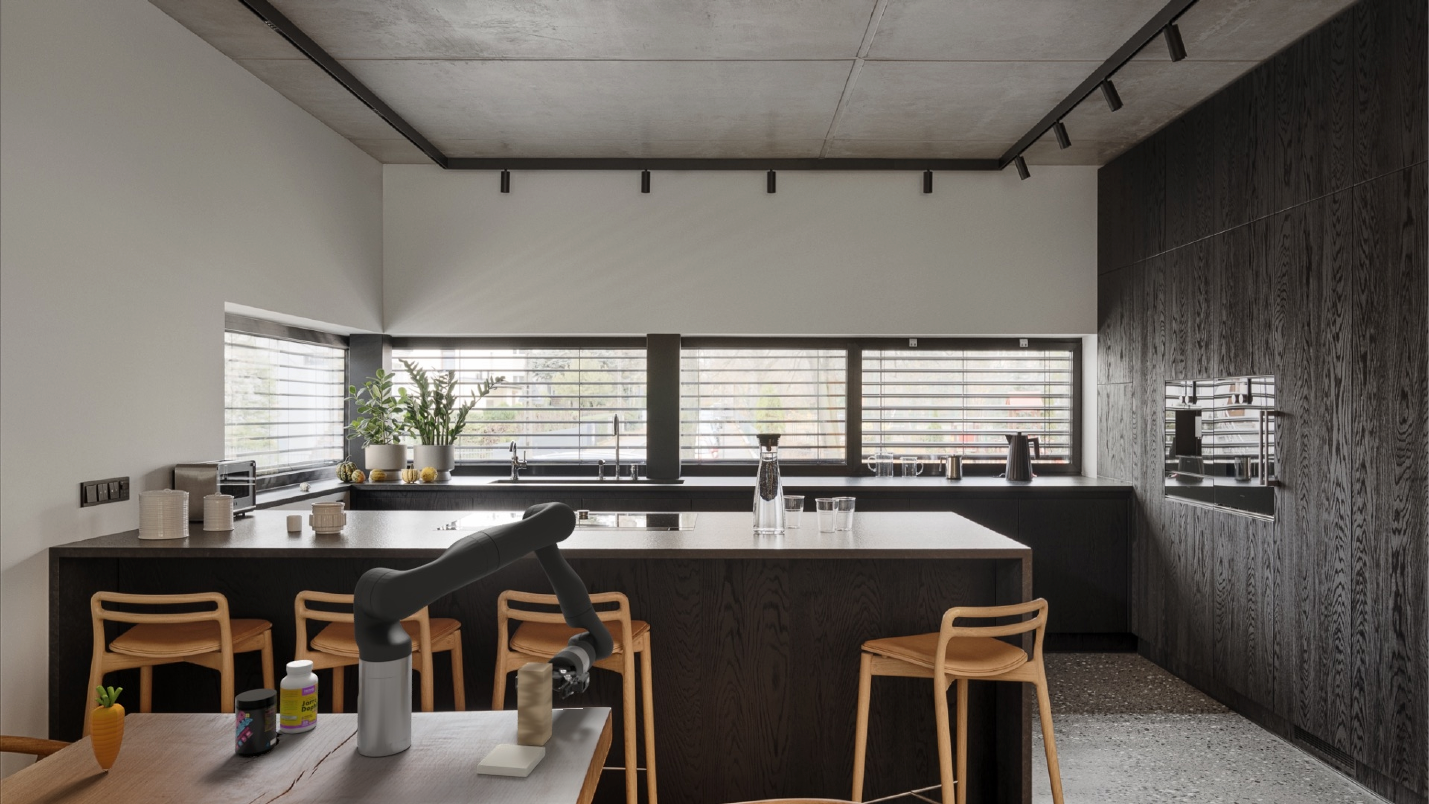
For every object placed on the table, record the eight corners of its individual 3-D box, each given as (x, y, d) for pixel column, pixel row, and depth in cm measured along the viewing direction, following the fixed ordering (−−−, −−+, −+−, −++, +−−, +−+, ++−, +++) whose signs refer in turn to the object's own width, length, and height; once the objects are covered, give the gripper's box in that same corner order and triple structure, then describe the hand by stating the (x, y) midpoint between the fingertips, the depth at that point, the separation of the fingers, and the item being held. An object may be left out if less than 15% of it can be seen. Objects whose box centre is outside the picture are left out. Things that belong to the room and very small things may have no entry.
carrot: (131, 767, 143) (132, 682, 143) (101, 779, 138) (102, 691, 138) (111, 763, 144) (112, 679, 144) (81, 775, 140) (82, 688, 140)
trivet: (477, 773, 141) (477, 764, 141) (498, 752, 149) (498, 744, 150) (526, 777, 139) (526, 768, 139) (545, 755, 148) (545, 747, 148)
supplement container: (241, 745, 152) (242, 690, 152) (280, 742, 154) (281, 687, 154) (228, 760, 146) (229, 702, 146) (270, 757, 147) (270, 699, 147)
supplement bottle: (301, 736, 157) (302, 669, 157) (271, 733, 158) (272, 667, 158) (324, 723, 163) (325, 659, 163) (296, 720, 165) (296, 657, 165)
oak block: (517, 744, 153) (517, 670, 153) (527, 734, 158) (527, 662, 158) (542, 746, 152) (543, 671, 153) (551, 735, 157) (552, 663, 157)
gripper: (536, 648, 175) (505, 672, 159) (599, 651, 173) (575, 675, 157) (535, 683, 175) (505, 710, 159) (599, 687, 173) (574, 714, 157)
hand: (540, 693), depth 158 cm, fingers open, 8 cm apart
